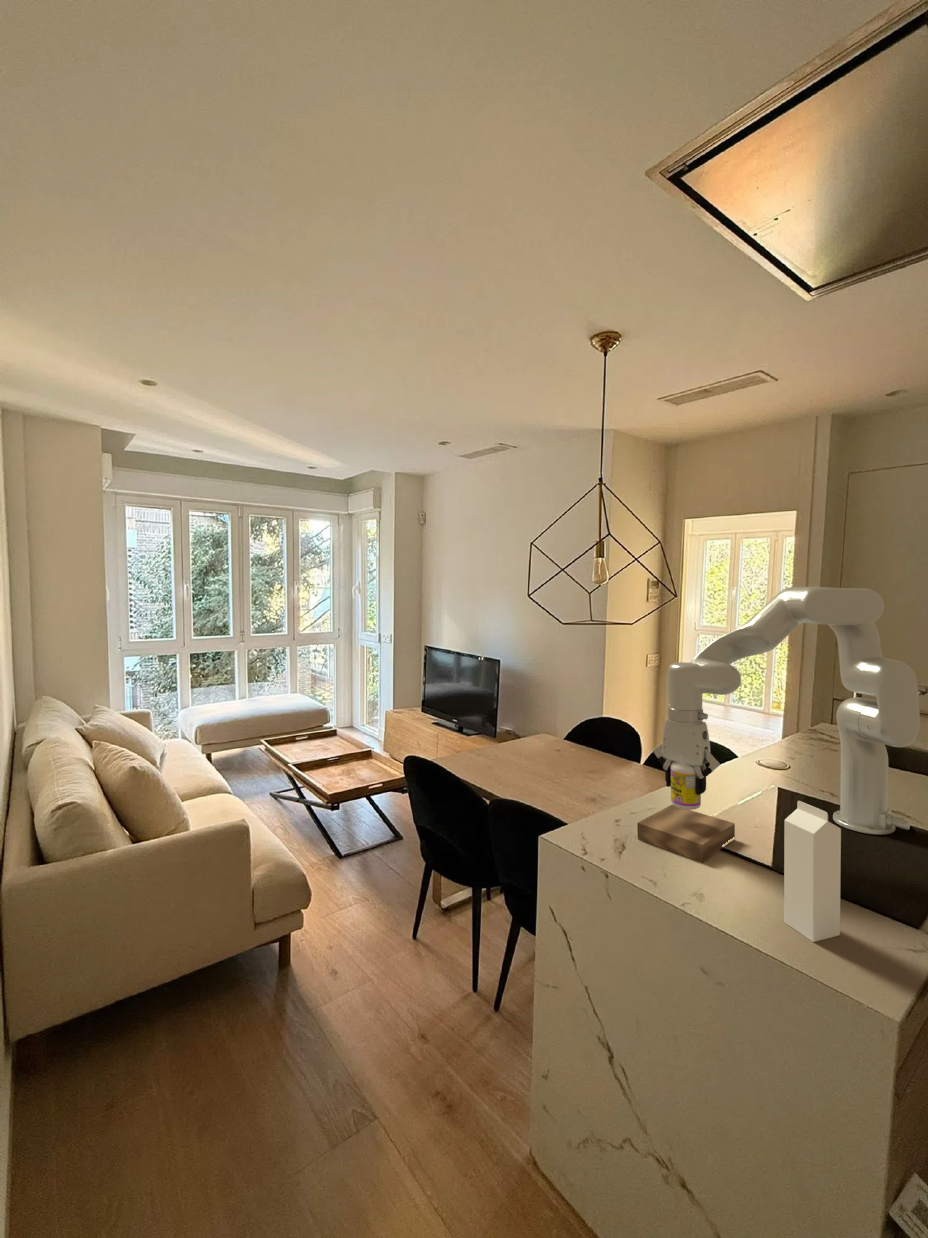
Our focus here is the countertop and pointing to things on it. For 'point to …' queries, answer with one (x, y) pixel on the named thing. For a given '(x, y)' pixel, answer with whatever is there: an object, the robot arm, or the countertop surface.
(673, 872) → the countertop surface
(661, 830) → the plinth
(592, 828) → the countertop surface
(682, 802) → the supplement bottle
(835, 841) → the milk
